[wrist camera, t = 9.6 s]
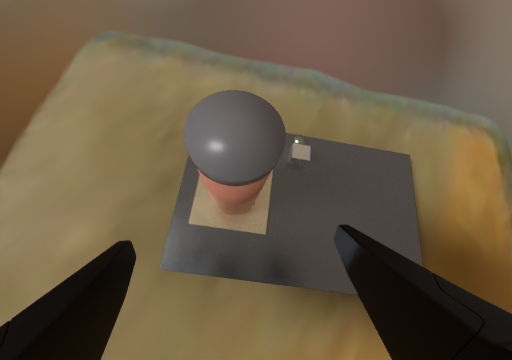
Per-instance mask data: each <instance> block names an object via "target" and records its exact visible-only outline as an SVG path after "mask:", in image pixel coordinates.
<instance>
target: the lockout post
mask: <svg viewBox="0 0 512 360" xmlns="http://www.w3.org/2000/svg"><path fill="white" fill-rule="evenodd" d="M285 141H286V133H285V127H284V124H283V121H282V119H281V117H280V115H279V114H278V112H277V111H276V110H275V108H274V107H273V106H272V105H271V104H270V103H268V102H267V101H266V100H264V99H263V98H261V97H259V96H257V95H255V94H252V93H249V92H245V91H238V90H228V91H221V92H217V93H214V94H212V95H209V96H207V97H206V98H204V99H202V100H201V101H200V102H199V103H197V104H196V105H195V107H194V108H193V109H192V110H191V112H190V113H189V115H188V117H187V119H186V122H185V126H184V142H185V146H186V149H187V151H188V153H189V155H190V157H191V159H192V161H193V163H194V165H195V166H196V168H197V169H198V172H199V174H200V176H201V178H202V180H203V182H204V185H205V187H206V189H207V191H208V193H209V195H210V197H211V200H212V202H213V204H214V205H215V207H216V208H217V209H218V210H219V211H221V212H223V213H225V214H228V215H240V214H243V213H245V212H247V211H248V210H249V209H250V208H251V207H252V206H253V204H254V203H255V201H256V199H257V197H258V195H259V194H260V192H261V190H262V188H263V186H264V184H265V182H266V180H267V179H268V177H269V175H270V173H271V171H272V170H273V169H274V167H275V165H276V164H277V162H278V160H279V159H280V157H281V155H282V152H283V150H284V147H285Z"/></svg>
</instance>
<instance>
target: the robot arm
mask: <svg viewBox="0 0 512 360" xmlns="http://www.w3.org/2000/svg"><path fill="white" fill-rule="evenodd" d="M334 242H335V245H336V248H337V250H338V253H339V255H340V258H341V260H342V262H343V265H344V267H345V270H346V272H347V274H348V276H349V278H350V280H351V282H352V284H353V286H354V288H355V290H356V292H357V294H358V296H359V297H360V299H361V301H362V303H363V305H364V307H365V309H366V311H367V313H368V315H369V317H370V318H371V320H372V322H373V324H374V326H375V328H376V330H377V332H378V334H379V336H380V338H381V339H382V341H383V343H384V345H385V347H386V349H387V351H388V353H389V355H390V357H391V359H392V360H512V314H511V313H509V312H507V311H505V310H503V309H501V308H499V307H497V306H495V305H493V304H491V303H489V302H487V301H485V300H483V299H481V298H479V297H477V296H475V295H473V294H471V293H469V292H468V291H466V290H464V289H462V288H460V287H458V286H456V285H454V284H453V283H451V282H449V281H447V280H445V279H444V278H442V277H440V276H438V275H436V274H435V273H432V272H431V271H429V270H428V269H426V268H424V267H422V266H420V265H419V264H417V263H415V262H413V261H412V260H410V259H408V258H406V257H405V256H403V255H401V254H399V253H397V252H396V251H394V250H392V249H390V248H389V247H387V246H385V245H383V244H381V243H380V242H378V241H376V240H374V239H373V238H371V237H369V236H367V235H366V234H364V233H362V232H360V231H358V230H357V229H355V228H353V227H351V226H350V225H348V224H341V225H338V226H337V229H336V233H335V237H334ZM135 261H136V253H135V250H134V248H133V245H132V242H131V241H129V240H125V241H119V242H117V243H115V244H114V245H113V246H111V247H110V248H109V249H107V250H106V251H104V252H103V253H102V254H100V255H99V256H98V257H96V258H95V259H93V260H92V261H91V262H89V263H88V264H86V265H85V266H84V267H82V268H81V269H80V270H78V271H77V272H75V273H74V274H73V275H71V276H70V277H69V278H67V279H66V280H64V281H63V282H62V283H60V284H59V285H57V286H56V287H55V288H53V289H52V290H51V291H49V292H48V293H46V294H45V295H44V296H42V297H41V298H40V299H38V300H37V301H35V302H34V303H33V304H31V305H30V306H28V307H27V308H26V309H24V310H23V311H22V312H20V313H19V314H17V315H16V316H15V317H13V318H12V319H11V321H8V322H6V323H5V324H3V325H2V326H1V327H0V360H101V357H102V355H103V352H104V350H105V347H106V345H107V342H108V340H109V337H110V335H111V332H112V330H113V327H114V325H115V322H116V320H117V317H118V315H119V312H120V310H121V307H122V305H123V302H124V299H125V296H126V293H127V290H128V286H129V283H130V279H131V276H132V272H133V268H134V265H135Z"/></svg>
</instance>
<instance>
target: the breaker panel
mask: <svg viewBox="0 0 512 360" xmlns="http://www.w3.org/2000/svg"><path fill="white" fill-rule="evenodd" d="M341 224H348V225H350V226H351V227H353V228H355V229H357V230H358V231H360V232H362V233H364V234H366V235H367V236H369V237H371V238H373V239H374V240H376V241H378V242H380V243H381V244H383V245H385V246H387V247H389V248H390V249H392V250H394V251H396V252H397V253H399V254H401V255H403V256H405V257H406V258H408V259H410V260H412V261H413V262H415V263H417V264H419V265H420V266H422V257H421V248H420V240H419V231H418V222H417V213H416V205H415V196H414V187H413V179H412V170H411V161H410V155H407V154H402V153H396V152H390V151H385V150H379V149H374V148H368V147H362V146H357V145H351V144H345V143H340V142H334V141H329V140H323V139H317V138H312V137H306V136H302V135H295V134H289V133H286V141H285V147H284V150H283V152H282V155H281V157H280V159H279V160H278V162H277V164H276V165H275V167H274V169H273V170H272V171H271V173H270V175H269V177H268V179H267V180H266V182H265V184H264V186H263V188H262V190H261V192H260V194H259V195H258V197H257V199H256V201H255V203H254V204H253V206H252V207H251V208H250V209H249V210H248V211H247V212H245V213H243V214H240V215H228V214H225V213H223V212H221V211H219V210H218V209H217V208H216V207H215V205H214V204H213V202H212V200H211V197H210V195H209V193H208V191H207V189H206V187H205V185H204V182H203V180H202V178H201V176H200V174H199V172H198V169H197V168H196V166H195V165H194V163H193V161H192V159H191V157H190V155H188V159H187V163H186V167H185V171H184V175H183V178H182V182H181V186H180V190H179V194H178V198H177V202H176V205H175V209H174V213H173V217H172V221H171V225H170V228H169V232H168V236H167V240H166V244H165V248H164V252H163V255H162V259H161V263H160V267H159V269H160V270H168V271H176V272H184V273H191V274H199V275H207V276H215V277H223V278H230V279H238V280H246V281H254V282H261V283H269V284H277V285H285V286H292V287H300V288H308V289H316V290H324V291H331V292H339V293H347V294H355V295H358V294H357V292H356V290H355V288H354V286H353V284H352V282H351V280H350V278H349V276H348V274H347V272H346V270H345V267H344V265H343V262H342V260H341V258H340V255H339V253H338V250H337V248H336V245H335V242H334V237H335V233H336V229H337V226H338V225H341ZM422 267H423V266H422Z"/></svg>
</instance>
